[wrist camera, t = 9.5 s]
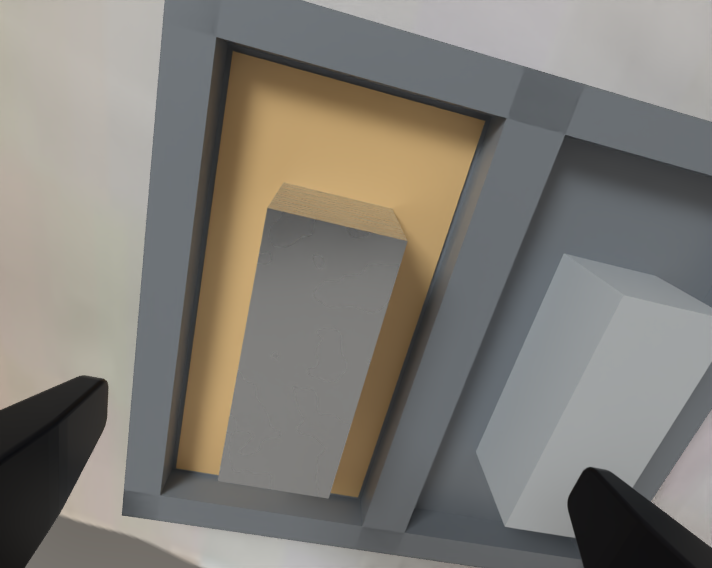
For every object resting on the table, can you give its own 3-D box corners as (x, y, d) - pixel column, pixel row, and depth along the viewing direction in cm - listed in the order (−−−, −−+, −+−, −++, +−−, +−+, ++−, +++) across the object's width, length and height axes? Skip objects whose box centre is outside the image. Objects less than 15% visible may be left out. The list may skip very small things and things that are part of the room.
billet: (392, 208, 17) (407, 240, 13) (330, 425, 20) (328, 498, 16) (283, 182, 16) (267, 207, 12) (240, 408, 20) (217, 480, 16)
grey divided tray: (799, 159, 18) (964, 182, 13) (572, 539, 25) (625, 639, 21) (194, -18, 15) (128, -71, 10) (144, 471, 22) (93, 570, 18)
